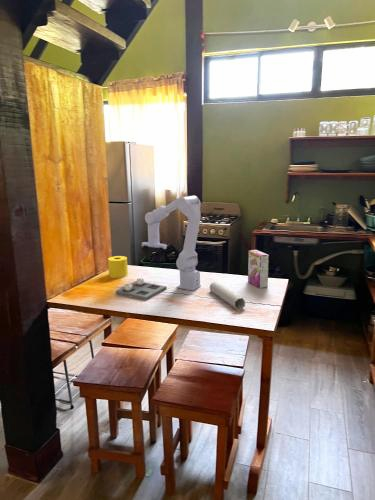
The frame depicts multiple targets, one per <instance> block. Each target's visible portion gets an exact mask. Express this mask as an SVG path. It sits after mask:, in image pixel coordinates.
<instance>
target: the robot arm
mask: <svg viewBox="0 0 375 500" xmlns="http://www.w3.org/2000/svg"><path fill="white" fill-rule="evenodd" d="M175 210H179V211H180V212H181V213H182V214H183V215H185V216H186V217H187V225H186V230H185V236H184V241H183V249H182V250H181V252H179V254H178V257H177V259H176V262H175V264H176V267H177V269H178V271H179V285H177V286H176V288H178V289H183V290H188V291H195V290H197V289H198V288H200V287H201V286H202V285H201V273H200V271H199V270H197V269H196V266H197V265H198V263H199V261H198V253H197V252H196V245H197V240H198V234H199V229H200V224H201V217H202V216H201V215H202V214H201V201H200V199H199V198H198V196H196V195H188V196H180V197H178V198H176V199H174V200H173V201H172V202H170V203H169V204H167V205H158V208H155V209H153V210H152V211H149V212H147V213H145V215H144V220H145V223H146V224H147V240H148V241H143V242H141V247H142V248H141V249H142V251H143V252H144V255H145V257H146V261H150V260H151V259H152V258H151V257H152V256H151V255H152V254H151V252H152V248H155V249H156V248H157V250H156V251H157V254H158V255H157V256H158V263H161V262H163V260H164V256H165V253H166V251H167V249H168V248H167V247H168V245H167V244H166V243H160V225H161V221H162V220H163V219H165V218H167V217H168V216H169V215H170V213H171V212H173V211H175Z"/></svg>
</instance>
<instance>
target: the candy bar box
mask: <svg viewBox="0 0 375 500" xmlns="http://www.w3.org/2000/svg"><path fill="white" fill-rule="evenodd" d="M247 254H248V259H247V260H248V262H247V263H248V267H247V268H248V269H247V282H248V283H250V284H252V285H253V286H256V287H257V288H258V289H264V288H268V286H269V285H268V283H269V262H270V261H269V260H270V259H269V258H270V254H267V253H265V252H262V251H260V250H258V249H251V250H250V249H249V250H248V253H247Z"/></svg>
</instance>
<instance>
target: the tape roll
mask: <svg viewBox="0 0 375 500" xmlns="http://www.w3.org/2000/svg"><path fill="white" fill-rule="evenodd" d="M107 262H108V263H107V264H108V276H109V277H110V278H112V277H113V278H114V279H118V278H119V279H121V278H126V277H127V276H128V275H129V274H128V271H129V270H128V269H129V268H128V257H127V256H125V255H124V256H123V255H115V256H111V257H108V258H107Z"/></svg>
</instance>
